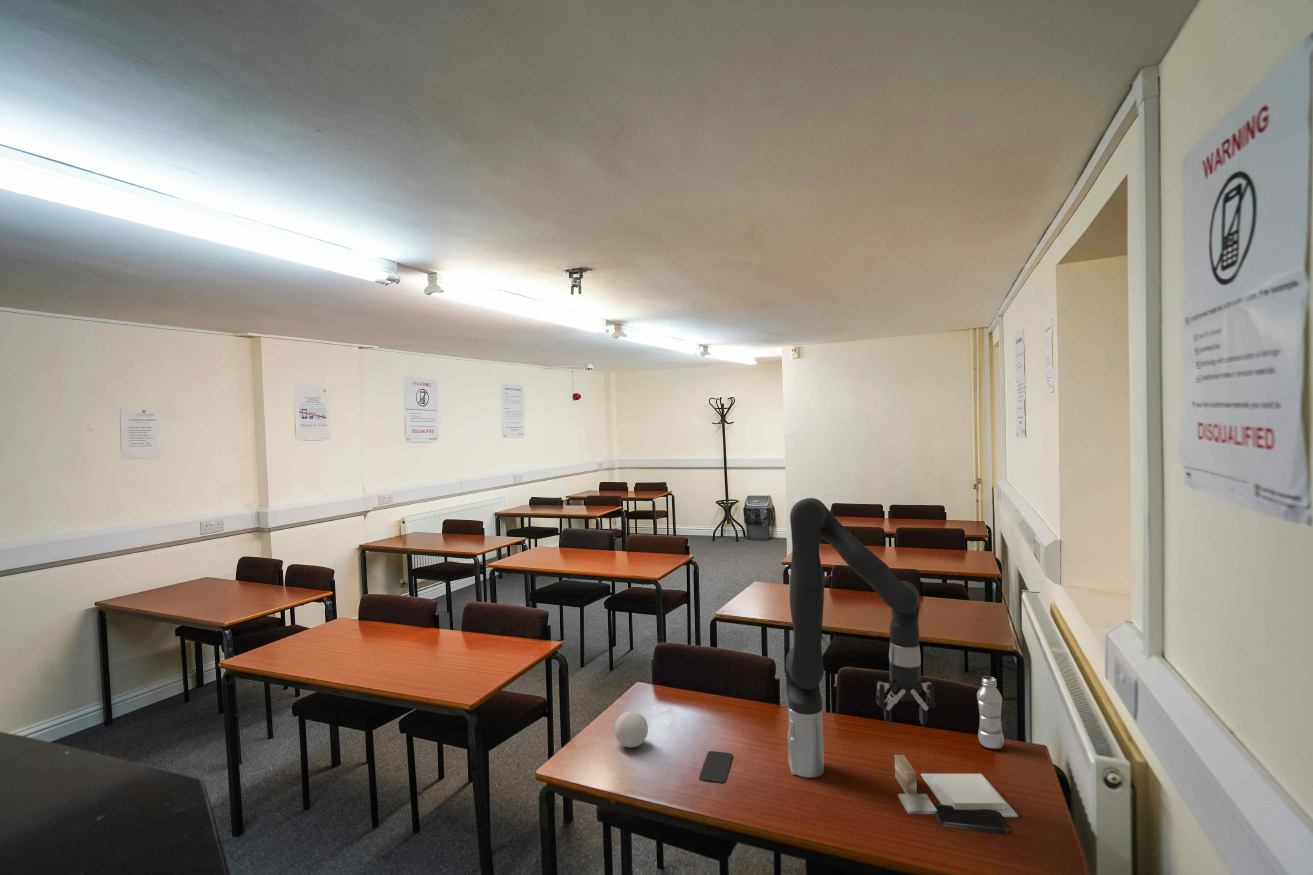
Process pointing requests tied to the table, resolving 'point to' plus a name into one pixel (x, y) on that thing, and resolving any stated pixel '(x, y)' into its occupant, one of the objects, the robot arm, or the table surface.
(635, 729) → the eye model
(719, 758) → the phone
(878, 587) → the robot arm
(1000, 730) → the plastic bottle
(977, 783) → the tile
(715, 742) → the table surface
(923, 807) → the scraper
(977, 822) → the phone
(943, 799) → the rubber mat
